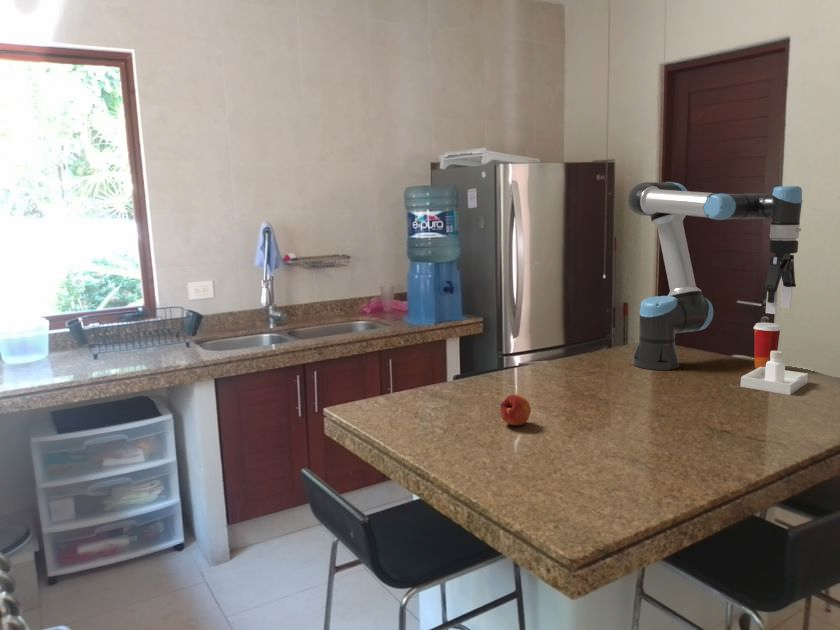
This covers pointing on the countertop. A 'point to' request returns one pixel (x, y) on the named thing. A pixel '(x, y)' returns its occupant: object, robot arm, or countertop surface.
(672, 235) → the robot arm
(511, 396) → the fruit
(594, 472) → the countertop surface
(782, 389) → the bin
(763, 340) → the coffee cup
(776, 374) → the salt shaker
